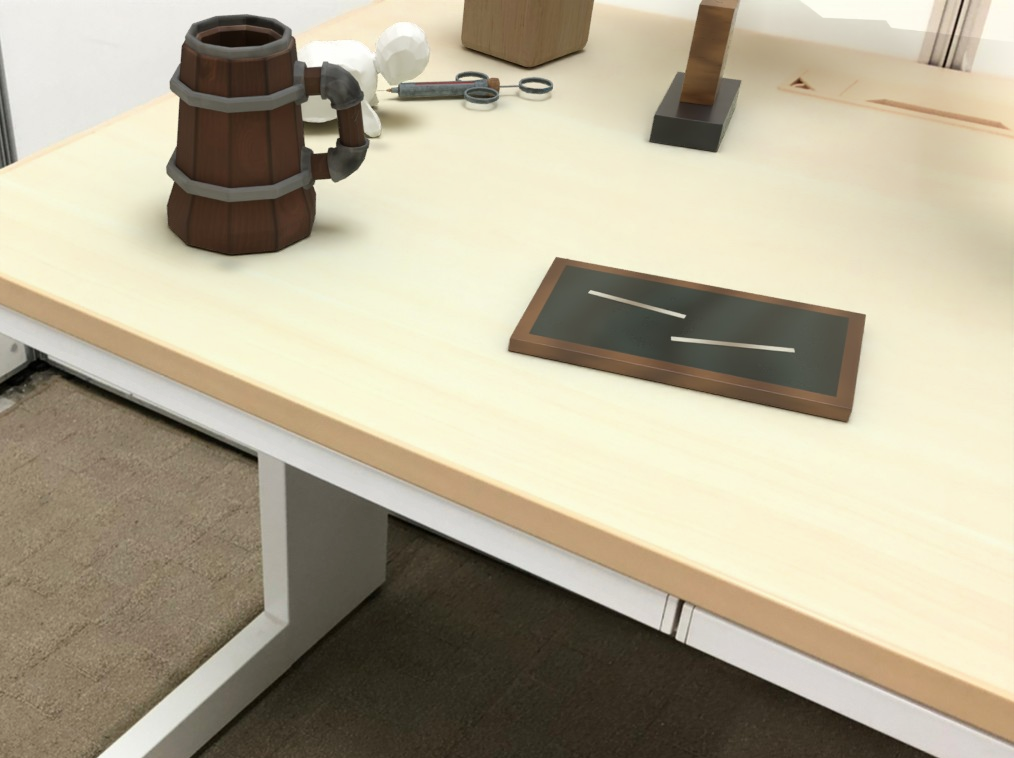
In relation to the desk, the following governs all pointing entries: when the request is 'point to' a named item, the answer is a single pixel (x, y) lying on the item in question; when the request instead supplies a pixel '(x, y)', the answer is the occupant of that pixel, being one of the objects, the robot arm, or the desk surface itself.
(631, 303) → the chalkboard
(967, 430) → the desk surface
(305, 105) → the white animal figurine
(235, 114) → the mug
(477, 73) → the syringe
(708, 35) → the eraser
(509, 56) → the wooden block
